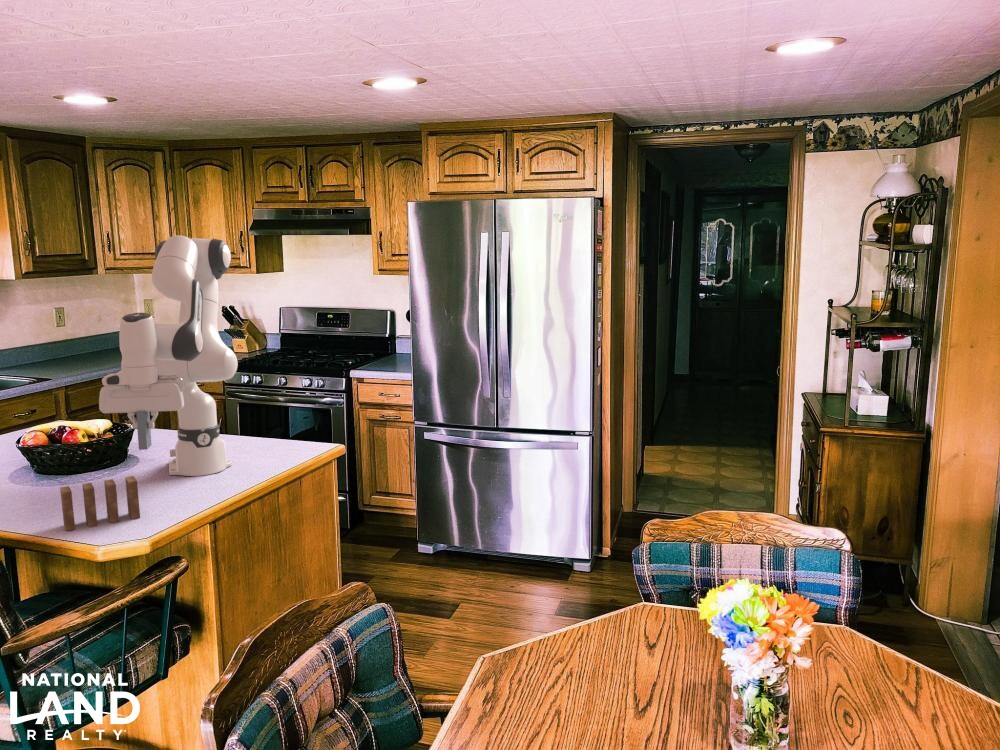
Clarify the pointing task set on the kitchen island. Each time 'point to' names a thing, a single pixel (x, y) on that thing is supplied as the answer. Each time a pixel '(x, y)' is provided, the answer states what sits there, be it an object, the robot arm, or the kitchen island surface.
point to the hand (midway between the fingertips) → (144, 428)
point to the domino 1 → (67, 508)
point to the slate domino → (143, 430)
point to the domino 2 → (90, 504)
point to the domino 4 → (132, 497)
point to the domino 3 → (111, 501)
